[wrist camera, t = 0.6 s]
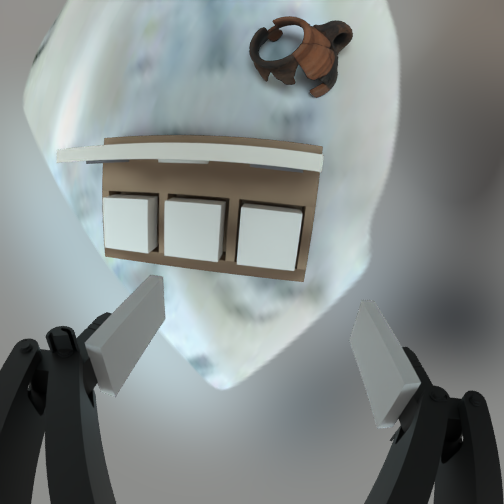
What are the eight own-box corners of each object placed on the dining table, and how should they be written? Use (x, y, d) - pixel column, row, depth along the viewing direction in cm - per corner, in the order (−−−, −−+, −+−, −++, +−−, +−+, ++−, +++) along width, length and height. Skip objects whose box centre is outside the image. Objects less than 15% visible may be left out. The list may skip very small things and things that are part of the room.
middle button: (173, 197, 30) (164, 200, 27) (225, 201, 29) (221, 205, 27) (172, 247, 32) (164, 255, 29) (222, 253, 31) (217, 262, 29)
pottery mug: (302, 118, 29) (268, 89, 22) (264, 74, 31) (228, 45, 25) (378, 64, 23) (363, 21, 17) (330, 25, 25) (305, -14, 19)
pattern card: (113, 148, 28) (57, 149, 18) (306, 157, 27) (323, 154, 17) (112, 161, 28) (56, 166, 19) (305, 171, 27) (321, 176, 18)
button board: (120, 139, 31) (104, 138, 27) (316, 148, 30) (322, 146, 26) (120, 247, 36) (105, 256, 32) (300, 268, 35) (303, 281, 31)
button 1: (114, 194, 30) (102, 197, 28) (157, 196, 30) (147, 199, 27) (116, 241, 32) (105, 247, 30) (157, 246, 32) (148, 253, 29)
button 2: (244, 203, 29) (241, 207, 27) (300, 209, 29) (302, 214, 27) (239, 255, 31) (236, 264, 29) (292, 261, 31) (294, 271, 28)
